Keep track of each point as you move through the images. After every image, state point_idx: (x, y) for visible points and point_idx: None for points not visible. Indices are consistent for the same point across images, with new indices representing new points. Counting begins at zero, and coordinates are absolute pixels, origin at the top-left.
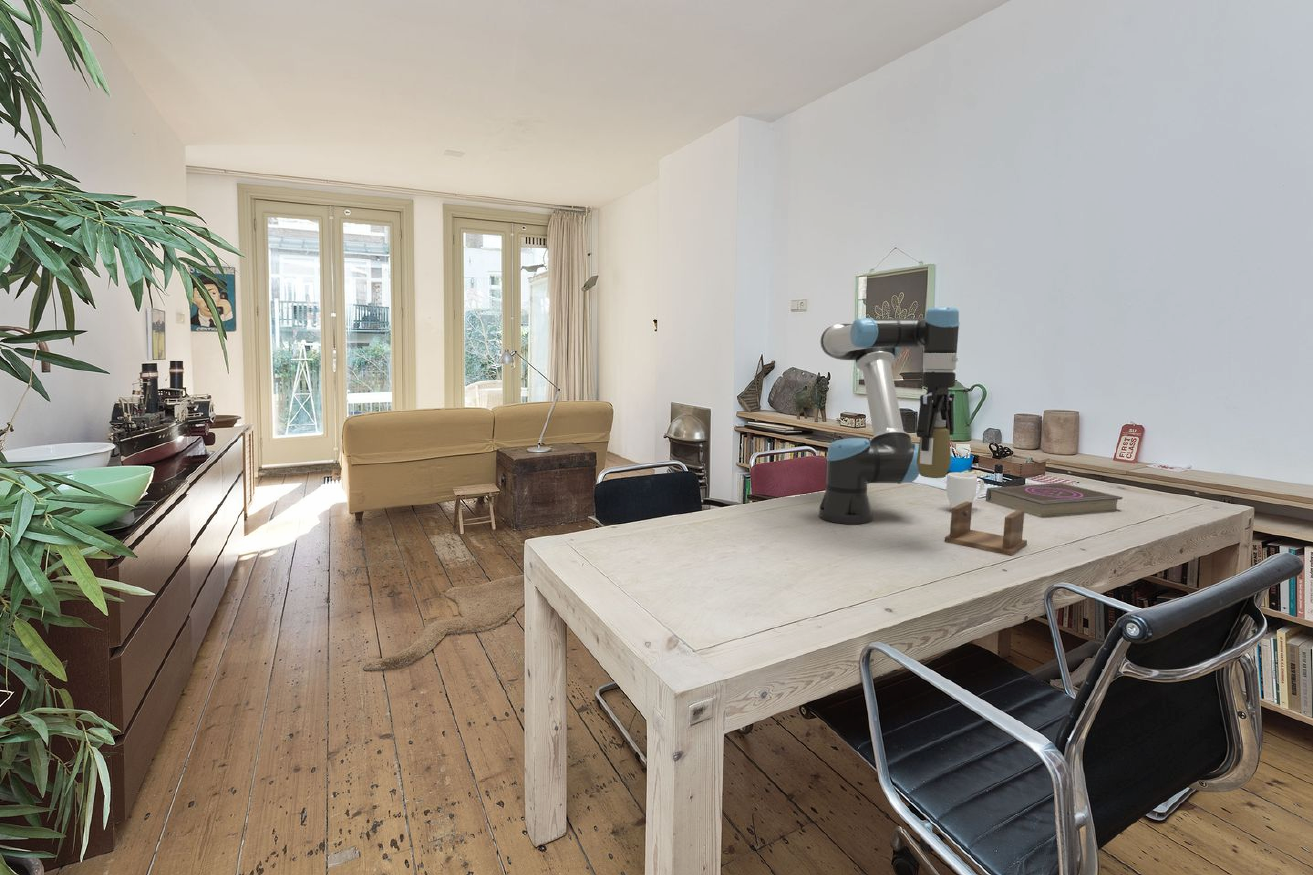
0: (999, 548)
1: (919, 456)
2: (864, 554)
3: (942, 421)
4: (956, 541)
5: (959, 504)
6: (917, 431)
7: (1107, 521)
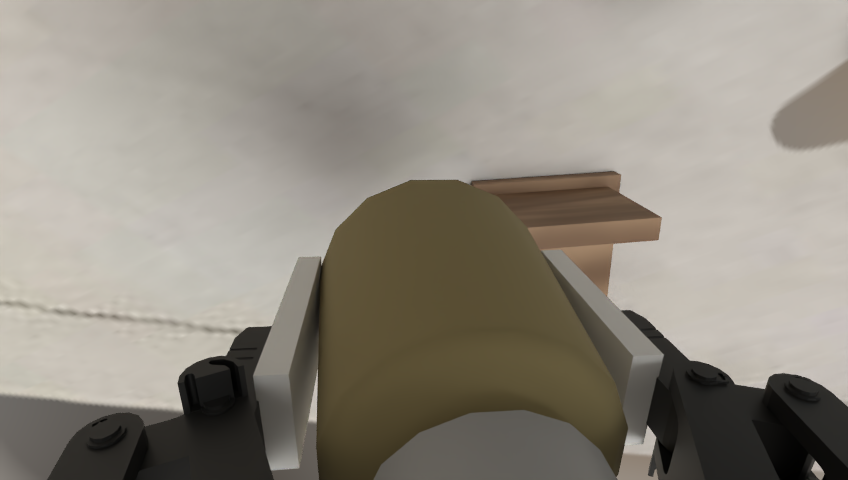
0: None
1: (337, 248)
2: (123, 71)
3: None
4: None
5: (589, 224)
6: (67, 462)
7: None
